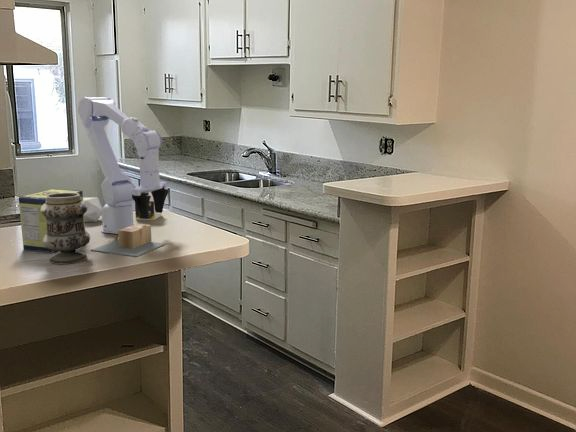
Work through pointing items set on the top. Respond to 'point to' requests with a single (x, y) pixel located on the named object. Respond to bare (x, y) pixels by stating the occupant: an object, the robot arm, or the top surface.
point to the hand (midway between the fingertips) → (151, 214)
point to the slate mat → (135, 252)
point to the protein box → (37, 219)
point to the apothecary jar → (65, 227)
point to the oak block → (134, 235)
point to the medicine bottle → (151, 210)
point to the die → (92, 209)
